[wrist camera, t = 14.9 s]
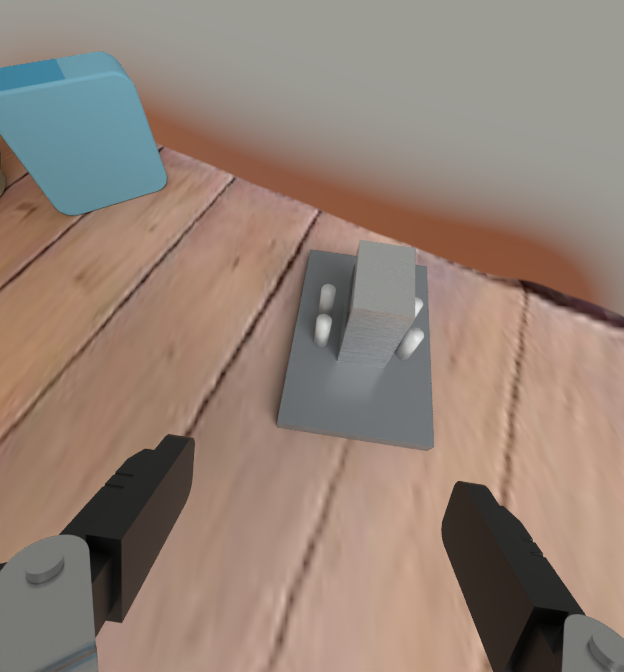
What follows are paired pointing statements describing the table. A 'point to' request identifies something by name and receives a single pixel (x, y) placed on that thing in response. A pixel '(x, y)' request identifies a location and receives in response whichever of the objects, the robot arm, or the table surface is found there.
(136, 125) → the data package
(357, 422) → the drive dock
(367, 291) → the block
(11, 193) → the table surface
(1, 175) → the planter bowl
